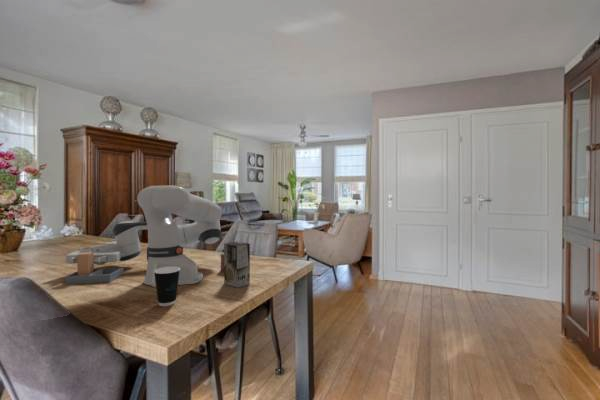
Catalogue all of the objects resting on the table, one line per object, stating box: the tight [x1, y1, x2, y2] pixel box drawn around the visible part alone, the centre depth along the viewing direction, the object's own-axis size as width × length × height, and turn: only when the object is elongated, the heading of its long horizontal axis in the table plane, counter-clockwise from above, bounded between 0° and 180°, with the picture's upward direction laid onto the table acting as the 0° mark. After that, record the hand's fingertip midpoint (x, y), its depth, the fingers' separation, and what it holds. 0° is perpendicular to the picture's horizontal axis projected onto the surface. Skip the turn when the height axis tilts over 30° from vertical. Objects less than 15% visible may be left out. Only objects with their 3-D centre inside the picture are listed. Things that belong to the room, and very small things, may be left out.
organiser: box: [64, 267, 124, 285], centre depth 120 cm, size 16×12×3 cm
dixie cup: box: [153, 267, 180, 307], centre depth 93 cm, size 8×8×11 cm
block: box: [76, 252, 95, 276], centre depth 120 cm, size 4×4×10 cm
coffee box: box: [223, 241, 251, 289], centre depth 114 cm, size 9×6×16 cm
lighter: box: [220, 248, 224, 272], centre depth 134 cm, size 8×3×10 cm, turn 71°
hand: (84, 261), depth 119 cm, fingers open, 8 cm apart
